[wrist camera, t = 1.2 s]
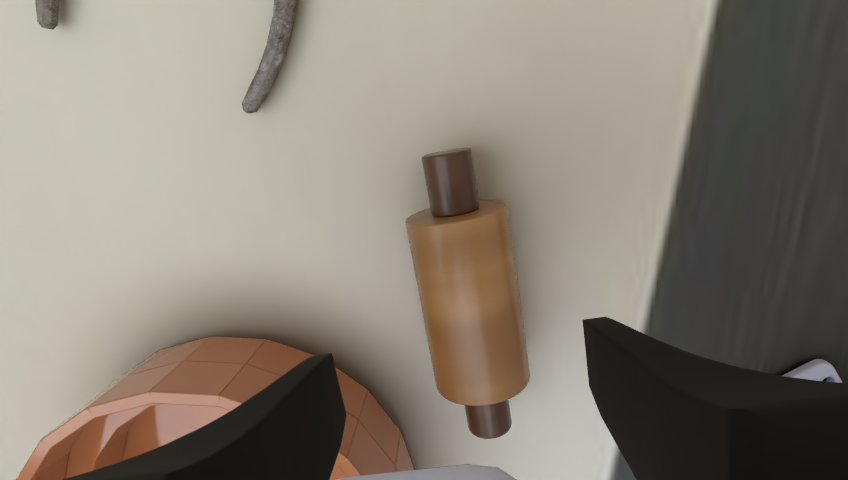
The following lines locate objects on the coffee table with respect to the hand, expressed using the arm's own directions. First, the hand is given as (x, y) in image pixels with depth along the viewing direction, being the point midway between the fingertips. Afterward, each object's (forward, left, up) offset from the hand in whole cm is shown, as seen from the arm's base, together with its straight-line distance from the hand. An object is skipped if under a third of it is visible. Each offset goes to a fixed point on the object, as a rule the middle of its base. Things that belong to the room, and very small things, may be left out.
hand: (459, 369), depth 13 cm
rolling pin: (0, 0, -7) cm, 7 cm away
